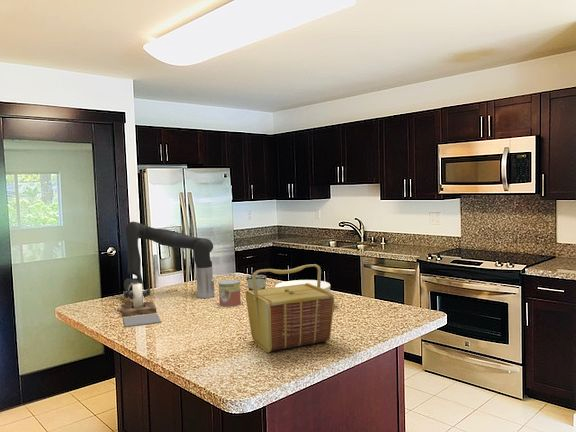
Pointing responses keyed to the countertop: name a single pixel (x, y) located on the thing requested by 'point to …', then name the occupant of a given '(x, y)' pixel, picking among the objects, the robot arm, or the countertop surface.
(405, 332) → the countertop surface
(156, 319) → the grey mat
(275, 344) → the picnic basket
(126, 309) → the walnut holder
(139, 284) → the cream cylinder
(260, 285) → the food container
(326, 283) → the plate stack
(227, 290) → the canned food
